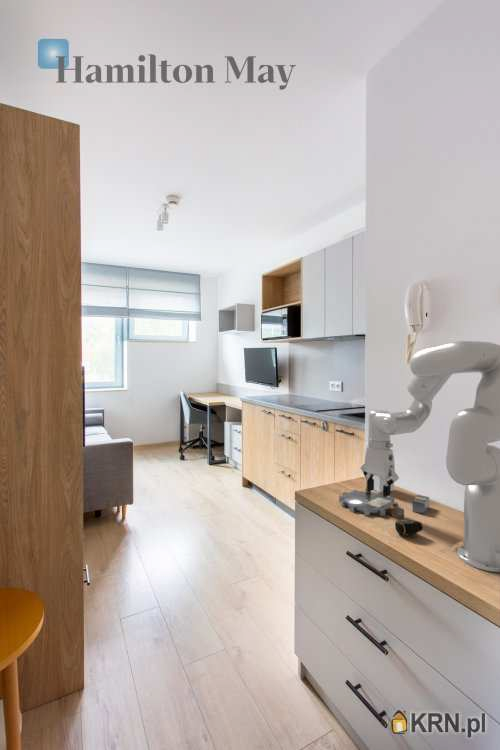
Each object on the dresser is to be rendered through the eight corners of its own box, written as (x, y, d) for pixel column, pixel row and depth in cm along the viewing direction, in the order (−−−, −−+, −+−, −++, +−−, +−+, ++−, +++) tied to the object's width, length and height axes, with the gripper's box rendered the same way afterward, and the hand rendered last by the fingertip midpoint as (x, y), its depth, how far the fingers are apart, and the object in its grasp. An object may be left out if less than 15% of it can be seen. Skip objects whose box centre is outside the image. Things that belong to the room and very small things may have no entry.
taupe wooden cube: (403, 517, 124) (404, 509, 124) (399, 519, 122) (399, 510, 122) (396, 514, 126) (396, 506, 126) (392, 516, 125) (392, 507, 125)
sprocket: (378, 493, 147) (378, 474, 146) (409, 514, 126) (410, 491, 126) (330, 496, 143) (330, 476, 143) (354, 518, 122) (355, 495, 122)
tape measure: (425, 533, 109) (422, 520, 110) (408, 538, 107) (406, 525, 107) (407, 529, 115) (405, 517, 116) (391, 534, 113) (389, 521, 113)
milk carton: (393, 491, 150) (394, 446, 150) (379, 493, 148) (379, 447, 147) (382, 485, 157) (383, 442, 156) (368, 487, 155) (369, 443, 154)
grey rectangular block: (429, 507, 133) (429, 496, 133) (424, 514, 127) (424, 503, 127) (417, 505, 135) (417, 494, 135) (412, 512, 129) (412, 500, 129)
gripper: (407, 447, 126) (406, 498, 126) (365, 438, 140) (365, 484, 140) (394, 450, 121) (393, 503, 122) (353, 441, 135) (352, 488, 136)
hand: (378, 492), depth 131 cm, fingers open, 6 cm apart
